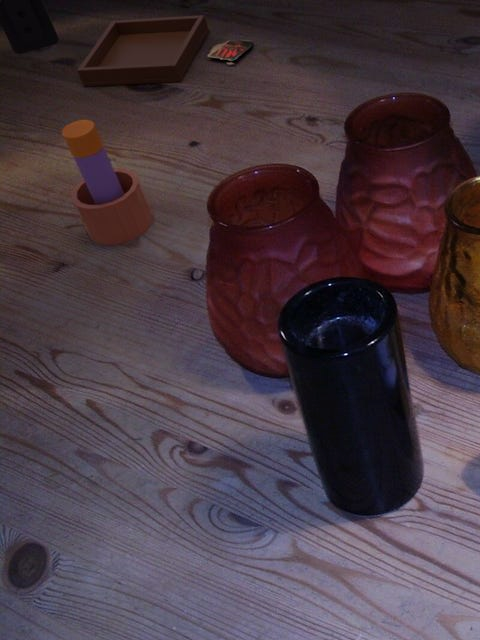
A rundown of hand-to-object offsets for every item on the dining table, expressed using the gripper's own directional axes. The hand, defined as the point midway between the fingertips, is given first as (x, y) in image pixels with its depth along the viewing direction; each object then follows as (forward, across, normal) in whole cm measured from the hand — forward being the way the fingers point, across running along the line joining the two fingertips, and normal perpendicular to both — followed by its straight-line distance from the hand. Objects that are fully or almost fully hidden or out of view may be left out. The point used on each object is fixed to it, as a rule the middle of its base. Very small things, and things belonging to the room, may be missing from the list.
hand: (30, 20), depth 75 cm
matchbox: (+20, -27, +16) cm, 38 cm away
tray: (+20, -32, +8) cm, 38 cm away
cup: (+20, -1, 0) cm, 20 cm away
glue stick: (+20, -1, 0) cm, 20 cm away
